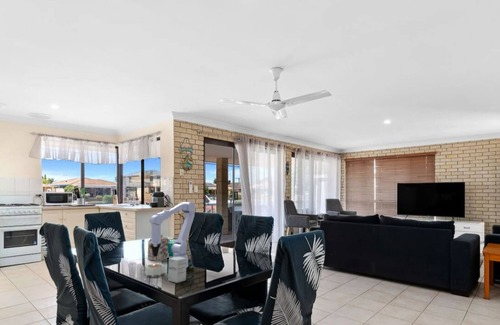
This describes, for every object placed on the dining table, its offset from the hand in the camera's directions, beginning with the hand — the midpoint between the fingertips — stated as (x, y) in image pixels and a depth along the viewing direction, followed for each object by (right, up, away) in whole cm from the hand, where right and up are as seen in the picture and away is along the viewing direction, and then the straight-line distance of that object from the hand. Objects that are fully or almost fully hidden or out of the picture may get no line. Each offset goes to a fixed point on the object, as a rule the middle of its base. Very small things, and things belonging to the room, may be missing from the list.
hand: (155, 256), depth 196 cm
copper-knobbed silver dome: (+1, -9, -4) cm, 10 cm away
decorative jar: (-9, -14, +38) cm, 41 cm away
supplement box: (+18, -9, -18) cm, 26 cm away
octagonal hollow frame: (+1, -10, -4) cm, 11 cm away
